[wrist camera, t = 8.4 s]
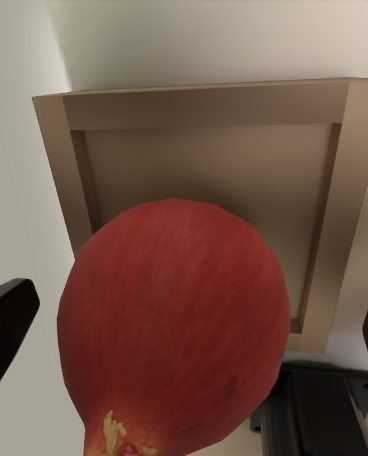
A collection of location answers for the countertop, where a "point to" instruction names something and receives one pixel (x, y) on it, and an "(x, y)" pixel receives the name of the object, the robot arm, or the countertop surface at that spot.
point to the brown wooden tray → (225, 169)
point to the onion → (171, 328)
